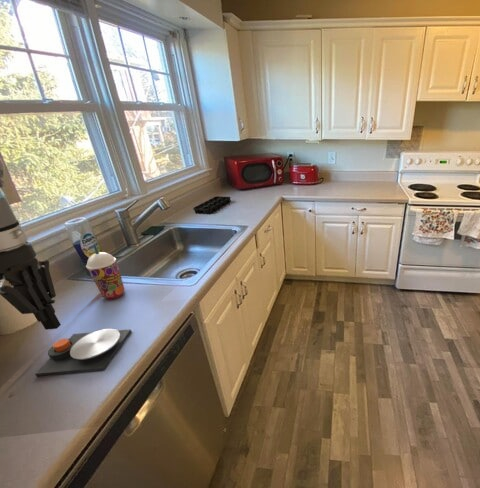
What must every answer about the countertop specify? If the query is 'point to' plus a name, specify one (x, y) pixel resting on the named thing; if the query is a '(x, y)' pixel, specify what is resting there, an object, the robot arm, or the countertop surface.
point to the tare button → (61, 345)
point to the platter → (94, 344)
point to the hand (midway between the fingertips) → (53, 327)
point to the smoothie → (105, 274)
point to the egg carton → (211, 205)
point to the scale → (68, 365)
